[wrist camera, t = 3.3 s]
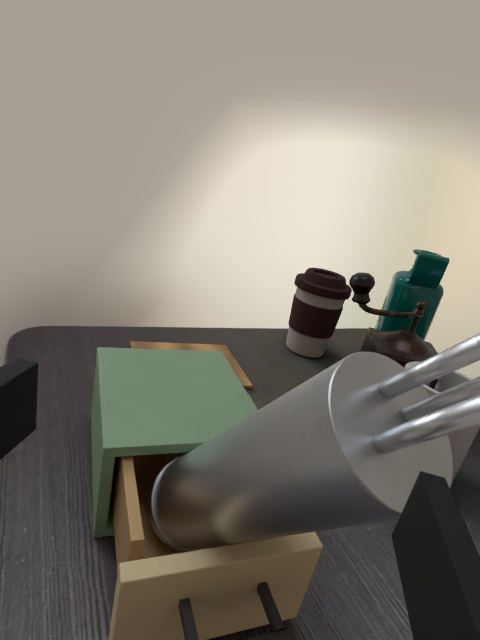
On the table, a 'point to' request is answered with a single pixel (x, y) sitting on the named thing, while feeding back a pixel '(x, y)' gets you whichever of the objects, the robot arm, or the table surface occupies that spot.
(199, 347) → the wooden board
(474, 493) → the table surface
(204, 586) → the drawer
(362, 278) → the manual coffee grinder
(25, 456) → the table surface
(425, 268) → the teal bottle
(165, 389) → the cabinet
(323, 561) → the table surface
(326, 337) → the coffee cup
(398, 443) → the cylinder
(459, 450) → the cup
